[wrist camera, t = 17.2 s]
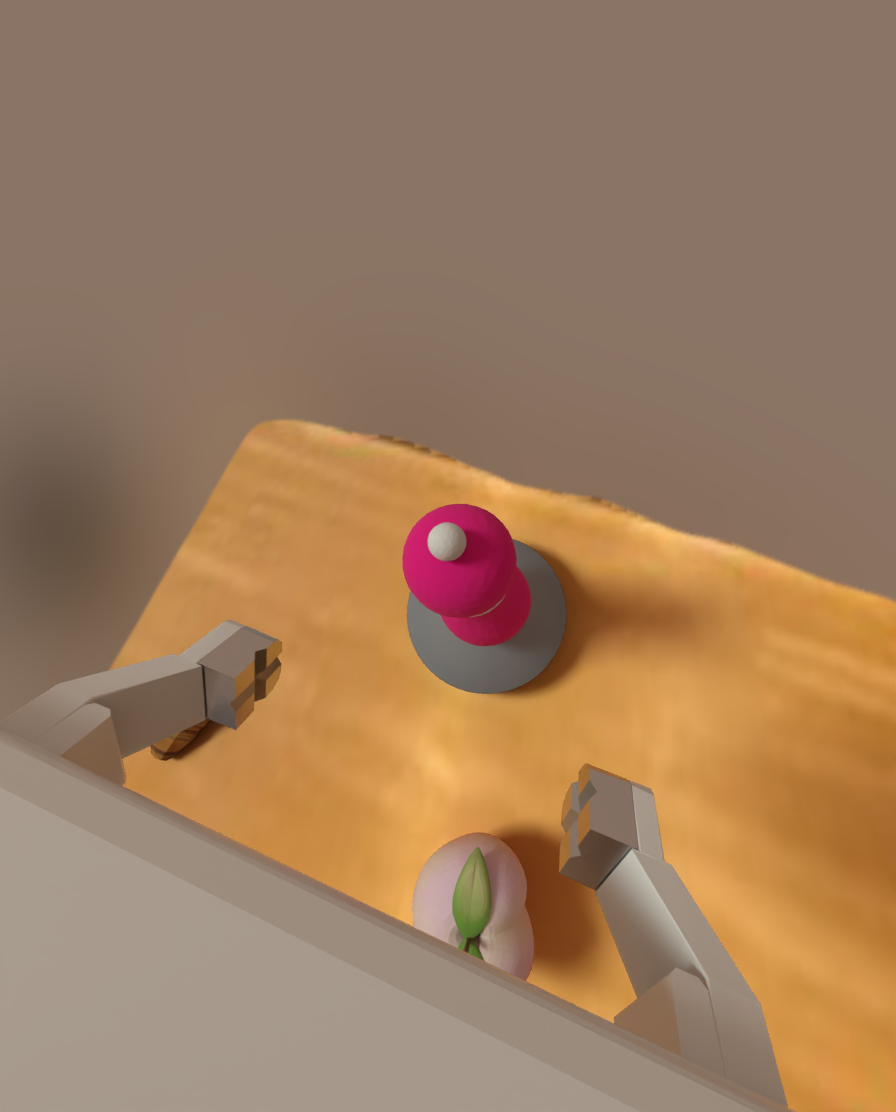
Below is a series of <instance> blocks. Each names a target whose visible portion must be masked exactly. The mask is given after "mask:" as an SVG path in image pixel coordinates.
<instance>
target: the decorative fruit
mask: <svg viewBox="0 0 896 1112" xmlns="http://www.w3.org/2000/svg"><path fill="white" fill-rule="evenodd" d="M526 895H527V882H526V877H525V873H524V870H523V868H522V865H521V863H520V861H519V859H518V858H517V856H516V855H515V853H514V852H513V851H512V849H511V848H510V847H509V846H508V845H507V844H506V843H504V842H503V841H502V840H500V839H499V838H497V837H495V836H493V835H490V834H486V833H471V834H467V835H464V836H461V837H459V838H456V839H454V840H452V841H450V842H448V843H447V844H445V845H444V846H442V847H441V848H439V849H438V850H437V851H436V852H435V853H434V854H433V855H432V856H431V857H430V858H429V859H428V860H427V862H426V863H425V865H424V866H423V868H422V870H421V872H420V874H419V877H418V880H417V883H416V886H415V890H414V895H413V906H412V910H413V927H415V928H417V929H419V930H421V931H423V932H425V933H427V934H429V935H432V936H434V937H436V938H438V939H440V940H442V941H444V942H446V943H448V944H450V945H452V946H454V947H456V948H458V949H460V950H463V951H465V952H467V953H469V954H471V955H473V956H475V957H477V958H479V959H481V960H483V961H485V962H487V963H489V964H491V965H494V966H496V967H498V968H500V969H502V970H504V971H506V972H508V973H510V974H512V975H514V976H516V977H518V978H520V979H522V980H525V981H526V980H527V978H528V976H529V973H530V971H531V969H532V964H533V959H534V935H533V929H532V925H531V921H530V917H529V914H528V911H527V909H526V907H525V900H526Z"/></svg>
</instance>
